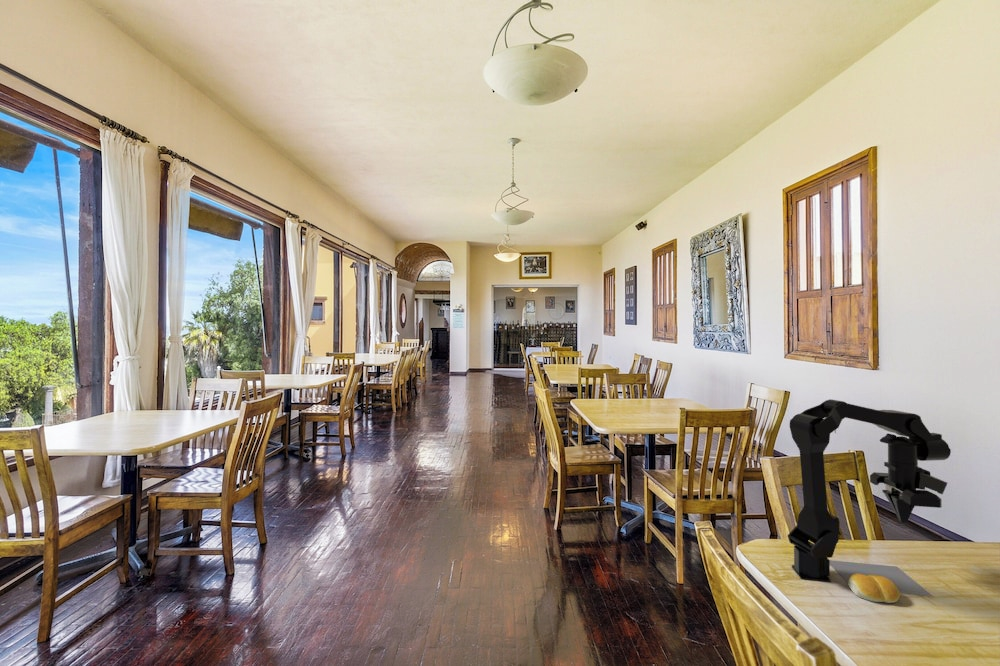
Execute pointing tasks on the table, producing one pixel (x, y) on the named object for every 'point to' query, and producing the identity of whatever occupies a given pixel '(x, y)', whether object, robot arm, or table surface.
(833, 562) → the serving mat
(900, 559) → the table surface
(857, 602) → the table surface
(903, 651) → the table surface
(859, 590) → the bread roll
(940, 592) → the table surface
